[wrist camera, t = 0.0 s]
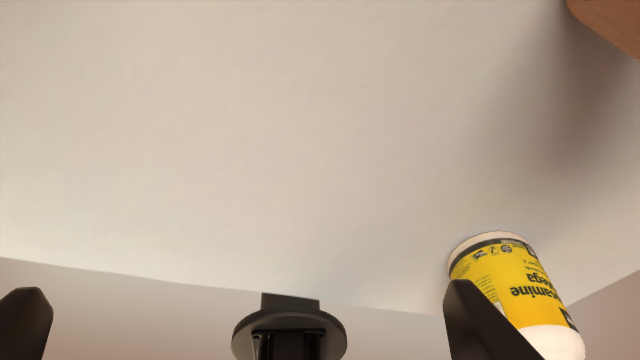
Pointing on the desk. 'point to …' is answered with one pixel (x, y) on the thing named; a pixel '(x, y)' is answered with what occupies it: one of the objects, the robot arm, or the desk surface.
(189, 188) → the desk surface
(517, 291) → the pill bottle
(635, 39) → the jar
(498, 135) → the desk surface
